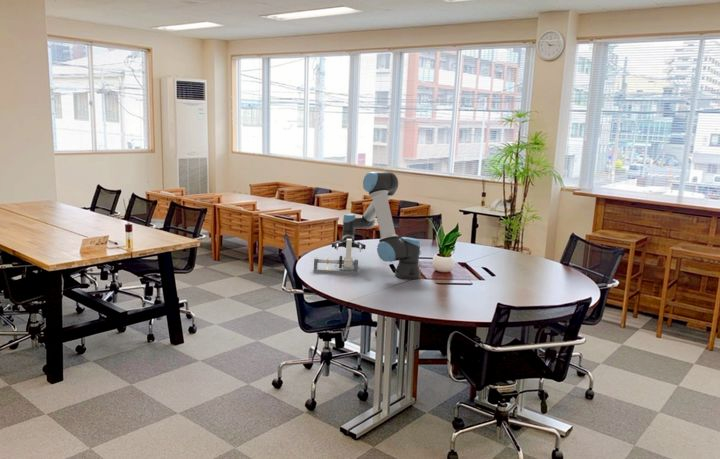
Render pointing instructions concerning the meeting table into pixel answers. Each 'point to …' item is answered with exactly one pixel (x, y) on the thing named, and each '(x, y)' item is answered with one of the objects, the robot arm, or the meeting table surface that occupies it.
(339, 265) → the ring
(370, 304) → the meeting table surface
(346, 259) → the sleeve
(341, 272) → the pipe stand
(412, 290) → the meeting table surface
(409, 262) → the robot arm
